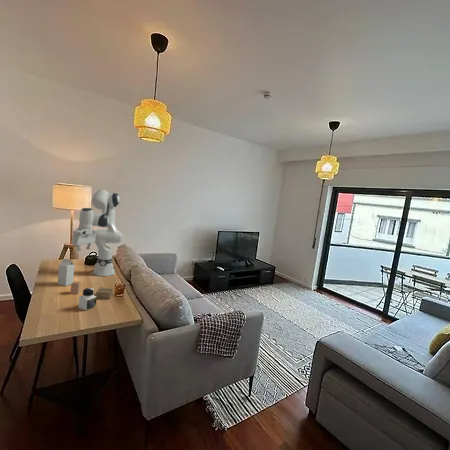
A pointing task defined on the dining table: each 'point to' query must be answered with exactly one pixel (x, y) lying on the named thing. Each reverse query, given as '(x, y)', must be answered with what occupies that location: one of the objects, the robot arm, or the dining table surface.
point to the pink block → (75, 287)
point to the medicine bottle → (87, 299)
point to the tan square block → (104, 293)
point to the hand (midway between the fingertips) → (83, 250)
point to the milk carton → (65, 272)
